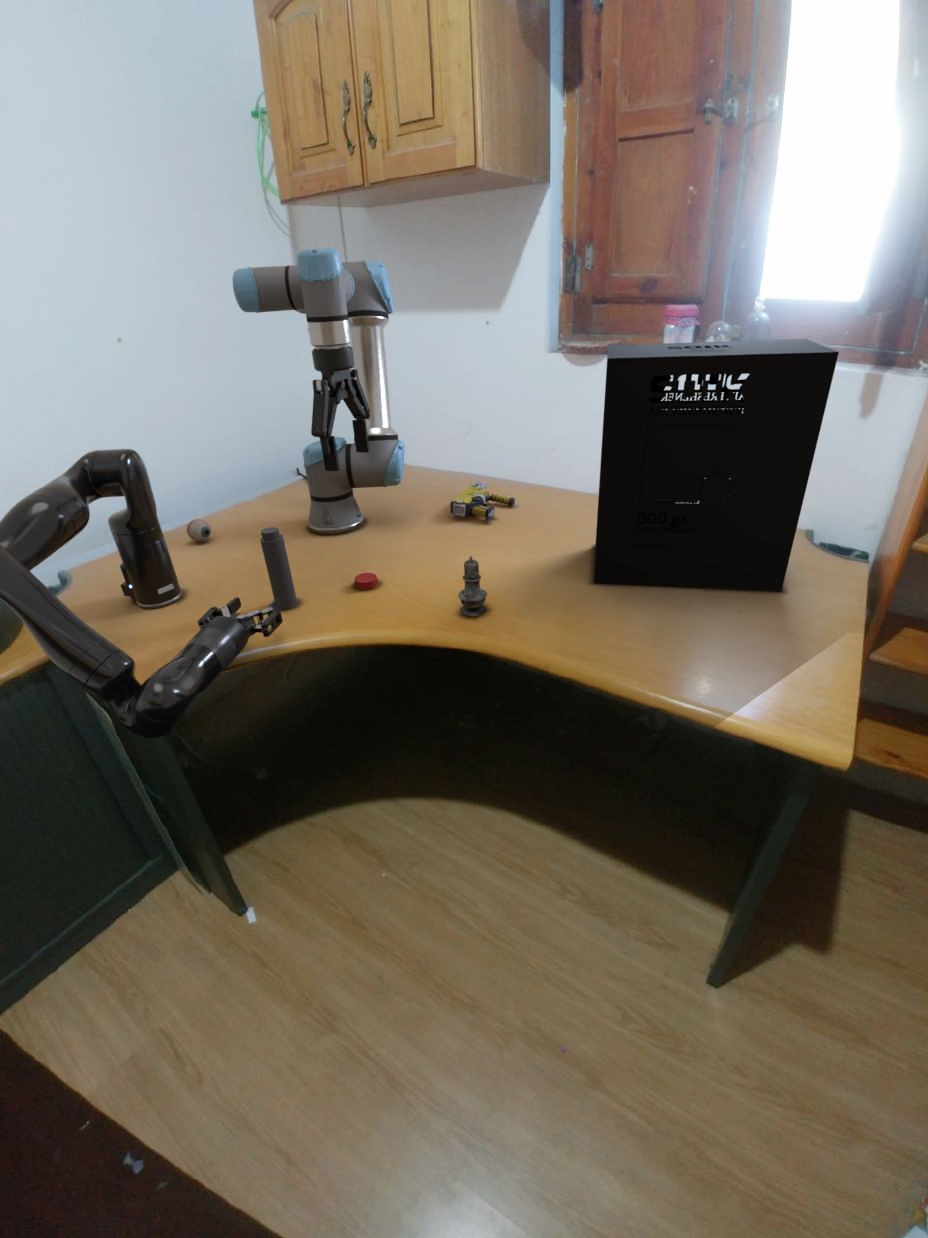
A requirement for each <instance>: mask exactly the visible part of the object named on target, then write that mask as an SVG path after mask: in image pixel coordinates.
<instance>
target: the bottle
mask: <svg viewBox="0 0 928 1238" xmlns="http://www.w3.org/2000/svg"><path fill="white" fill-rule="evenodd" d="M260 535H261V537H260V538H259V541H260V546H261V550H262V554H263V558H264V562H265V566H266V571H267V575H268V578H269V579H268V580H269V584H270V587H271V593H272V596H273V601H274V600H275V599H280V602H281V604H282V610H281V611H287V610H291V609H293V608H295V607H296V606H297V605H298V599H297V594H296V589H295V584H294V581H293V575H292V572H291V567H290V563H289V557H288V552H287V547H286V543H285V539H284V535H283V534H281V533H280V529H279V528H278V527H277V526H268V527H265V528H263V529H261V530H260Z"/></svg>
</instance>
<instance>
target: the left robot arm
mask: <svg viewBox="0 0 928 1238" xmlns="http://www.w3.org/2000/svg"><path fill="white" fill-rule="evenodd" d="M118 497H123V498H124V500H125V505H126V506H125V508H122V509H120V510H118V511H115V512H114V513H113V514H111V515H109V517H108V519H107V523H108V527H109V530H110V532H111V535H112V538H113V541H114V544H115V546H116V548H117V551H118V554H119V556H120V560H121V562H122V563H121V564H120V565H119V568H120V571H121V573H122V576H123V580H124V582H122V583H121V584H120V588H121V591H122V594H123V596H124V597H129V598H130V599H131V601H132V603H133V605H135V606H136V605H137V606H138V607H139V608H142V609H145V610H146V609H148V610H150V609H159V608H163V607H166V606H169V605H172V604H174V603H176V602H178V601H179V600H180V599H181V598H182V597H183V590H182V588H181V585H180V582H179V580H178V577H177V573H176V570H175V567H174V564H173V561H172V558H171V553H170V552H169V548H168V546H167V542H166V539H165V536H164V533H163V529H162V527H161V523H160V521H159V520H160V519H159V517H158V511H157V503H156V500H155V496H154V491H153V488H152V484H151V481H150V476H149V473H148V469H147V466H146V463H145V461H144V459H143V457H142V456H141V455H140V454H139V453H138V452H137V451H136V450H135V449H132V448H113V449H95V450H92V451H88V452H86V453H85V454H83V455H82V456H81V457H80V458H78V459H77V460H76V461H75V462H74V463H73V464H72V465H71V466H70V467H69V468H68V469H67V470H66V471H65V472H63V473H62V474H61V475H59V476H57V477H55V478H54V479H52V480H51V481H49V482H48V483H46V484H45V485H43V486H41V487H39V488H37V489H36V490H34V491H33V492H30V493H29V494H28V495H26V496H25V497H24V498H22V499H20V500H19V501H18V502H17V503H15V505H13V506H12V507H11V508H10V509H9V510H8V511H7V512H6V513H5V514H4V516H3V517H2V518H1V519H0V602H2V603H4V604H5V605H6V606H7V607H8V608H9V609H10V610H11V611H13V612H14V614H15V615H16V616H17V617H18V618H19V620H20V621H22V623H23V624H24V626H25V627H26V629H28V631H29V633H30V634H31V635H32V637H33V638H34V640H35V641H36V643H37V645H38V646H39V647H40V648H41V650H42V652H43V653H44V654H45V656H46V657H47V658H48V659H49V660H50V661H51V662H52V664H54V665H55V666H56V667H57V668H58V669H59V670H60V671H62V672H63V673H65V675H67V676H69V677H70V678H72V679H73V680H74V681H76V682H77V683H78V684H80V685H82V686H83V687H84V688H86V689H88V691H90V692H92V693H93V694H94V695H95V696H96V697H97V698H98V699H99V700H100V702H101V703H102V704H103V705H104V707H105V708H106V709H107V710H108V711H109V712H110V713H111V714H112V716H114V718H115V719H116V720H117V722H119V723H120V725H122V726H123V727H124V728H125V729H126V730H128V731H129V732H131V733H132V734H135V735H136V736H138V737H143V738H146V739H158V738H161V737H164V736H165V735H167V734H168V733H169V732H170V731H171V730H172V729H173V728H174V727H175V725H176V723H177V722H178V720H179V719H180V717H182V715H183V714H184V712H185V710H186V709H187V708H188V707H189V706H190V704H191V703H192V701H193V700H194V699H195V698H196V697H197V695H199V694H201V693H202V692H203V691H205V690H206V689H207V688H208V687H209V686H210V684H212V683H213V681H214V680H215V679H216V678H217V677H218V676H219V675H220V674H221V673H222V672H224V671H225V670H226V669H227V668H228V667H229V666H230V665H231V663H233V662H234V660H236V658H237V657H238V656H239V655H240V653H241V652H242V651H243V650H244V649H245V648H246V647H247V644H248V642H249V639H250V637H251V636H254V635H255V634H256V633H259V634H262V635H263V637H264V638H268V637H270V636H271V635H273V633H274V632H275V631H276V630H277V629H278V628H279V627H280V626H281V625H282V624H283V623H284V620H283V617H282V616H283V615H282V612H281V611H283V610H282V604H281V602H280V599H275V600H274V599H273V601H271V603H270V604H269V605H268V606H267V608H264V609H262V610H260V609H255V610H253V611H250V612H246V613H240V612H238V611H239V610H240V608H242V603H241V599H240V597H237V596H234V598H232V599H230V600H229V601H228V602H226V604H224V605H221V606H220V607H219V608H218V607H217V606H212V607H210V608H209V609H208V610H207V611H206V612H205V613H204V614H203V615H202V616H201V617H200V618H199V619H198V620H197V624H198V627H199V630H198V632H196V634H195V635H193V637H191V639H190V640H189V641H188V642H187V644H186V645H185V646H184V647H183V648H182V649H181V650H180V651H179V652H177V654H176V655H175V656H173V658H172V659H171V660H170V661H169V662H167V663H165V664H164V665H162V666H161V667H159V668H158V669H157V670H155V671H154V672H152V674H150V675H149V676H148V678H146V679H145V680H144V681H143V682H142V684H141V683H140V682H139V680H137V678H136V675H135V674H136V673H135V672H136V662H135V659H133V658H132V656H130V655H129V654H128V653H127V652H125V651H124V650H122V649H121V648H120V647H118V646H117V645H115V644H114V643H112V641H110V640H109V639H107V638H106V637H104V636H103V635H102V634H100V633H98V632H97V631H96V630H95V629H93V628H92V627H91V626H90V625H88V624H86V622H84V621H83V620H82V619H81V618H79V617H78V616H77V615H76V614H75V613H74V612H72V610H70V608H68V607H67V605H65V603H63V602H62V601H61V600H60V599H59V598H58V596H56V595H55V594H54V593H53V592H52V591H51V590H50V589H49V588H48V587H47V586H46V585H45V583H43V582H42V581H41V580H40V579H39V578H38V577H37V576H36V575H34V573H32V572H31V571H32V570H33V569H34V568H36V567H37V566H39V565H40V564H42V563H43V562H44V561H46V560H47V559H48V558H50V557H51V556H52V555H53V554H55V553H56V552H57V551H58V550H60V549H61V548H62V547H64V546H65V545H67V544H68V543H69V542H70V541H72V540H73V539H74V538H75V537H76V536H78V535H79V534H80V533H82V531H83V530H84V529H85V528H86V527H87V525H88V523H89V521H90V518H91V517H90V516H91V509H90V505H91V504H92V503H94V502H95V501H98V500H100V499H106V498H118ZM266 615H267V617H266V618H265V617H264V616H266ZM255 617H256V619H257V623H256V620H255Z"/></svg>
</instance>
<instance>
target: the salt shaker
mask: <svg viewBox="0 0 928 1238" xmlns="http://www.w3.org/2000/svg"><path fill="white" fill-rule="evenodd" d="M463 572H464V574H463V576H462V579H463V583H464V588H463V589H462V590H461V591H459V592H458V594H457V596H458V597H457V598H458V599H459V601H460V603H461V605H462V606H461V608H460V613H461V615H463V616H466V617H479V616H482V615H484V614H486V612H487V607H486V606H485V605H484V604H485V602H486V601H487V597H488V591H486V590H485V589H483V588H481V581H480V580H482V575H480V567H479V562H478V561H477V560H475V559H473V556H472V555H469V557H468V559H467V560H465V561H464V563H463Z"/></svg>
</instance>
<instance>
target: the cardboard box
mask: <svg viewBox="0 0 928 1238" xmlns="http://www.w3.org/2000/svg"><path fill="white" fill-rule="evenodd" d="M839 353H840V352H839V351H837V350H835V349H832V348H830V347H828V346H825V345H823V344H819V343H817V342H815V341H812V340H810V339H808V338H795V339H791V338H790V339H789V338H787V339H765V340H764V339H761V340H759V339H758V340H732V341H730V340H729V341H728V340H727V341H698V342H697V341H696V342H669V343H639V344H638V343H636V344H635V343H634V344H632V343H631V344H609V345H607V355H606V356H607V357H606V371H605V384H604V400H603V401H604V403H603V418H602V432H601V433H602V436H601V450H600V453H601V454H600V464H599V465H600V466H599V467H600V468H599V481H598V482H599V483H598V484H599V485H598V498H597V515H596V530H595V545H594V546H595V548H594V565H593V583H594V584H614V585H615V584H616V585H618V584H619V585H637V586H639V585H641V586H658V587H659V586H663V587H681V588H682V587H684V588H703V589H705V588H707V589H727V590H728V589H729V590H747V591H767V592H768V591H769V592H771V591H772V592H782V591H783V587H784V583H785V578H786V575H787V572H788V571H787V570H788V567H789V562H790V558H791V554H792V549H793V545H794V542H795V537H796V532H797V528H798V525H799V520H800V516H801V512H802V509H803V508H802V507H803V503H804V499H805V495H806V490H807V487H808V482H809V478H810V476H811V475H810V474H811V470H812V467H813V462H814V457H815V454H816V449H817V445H818V442H819V436H820V432H821V428H822V424H823V420H824V416H825V411H826V408H827V404H828V399H829V395H830V391H831V387H832V382H833V379H834V374H835V370H836V366H837V362H838V358H839ZM742 374H743V375H747V377H746V378H744V379H739V378H740V377H741V376H742ZM693 375H695V376H696V375H697V382H696V380H695V379H693V380H692V377H693ZM707 375H709V378H708V379H707ZM682 376H685V380H684V382H683V389H679V385H680V379H679V378H680V377H682ZM730 376H731V377H730ZM729 377H730V383H729V385H730V386H735V385H740V386H739V388H729V387H728V379H729ZM706 379H707V380H706ZM696 385H699V389H695V388H696ZM713 385H714V386H715V387H714V389H709V386H713ZM667 387H670V389H666V388H667Z"/></svg>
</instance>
